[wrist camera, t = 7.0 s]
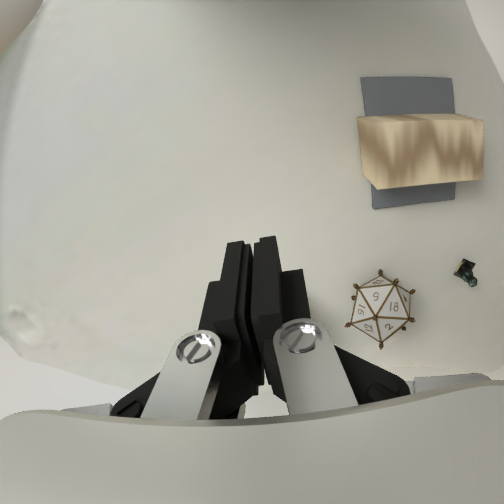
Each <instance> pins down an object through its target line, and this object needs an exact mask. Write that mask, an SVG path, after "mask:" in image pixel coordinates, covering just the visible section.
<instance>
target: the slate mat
mask: <svg viewBox="0 0 504 504" xmlns="http://www.w3.org/2000/svg"><path fill="white" fill-rule="evenodd" d="M360 79H361V86H362V93H363V100H364V108H365V116H366V117H367V116H382V115H403V114H454V99H453V88H452V79H451V78H436V77H365V78H360ZM371 188H372V208H373V209H377V208H385V207H393V206H401V205H409V204H418V203H426V202H435V201H443V200H452V199H455V182H447V183H436V184H426V185H416V186H406V187H397V188H388V189H379V190H377V189H376V188H375V187H374V185H373V184H372V183H371Z"/></svg>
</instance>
